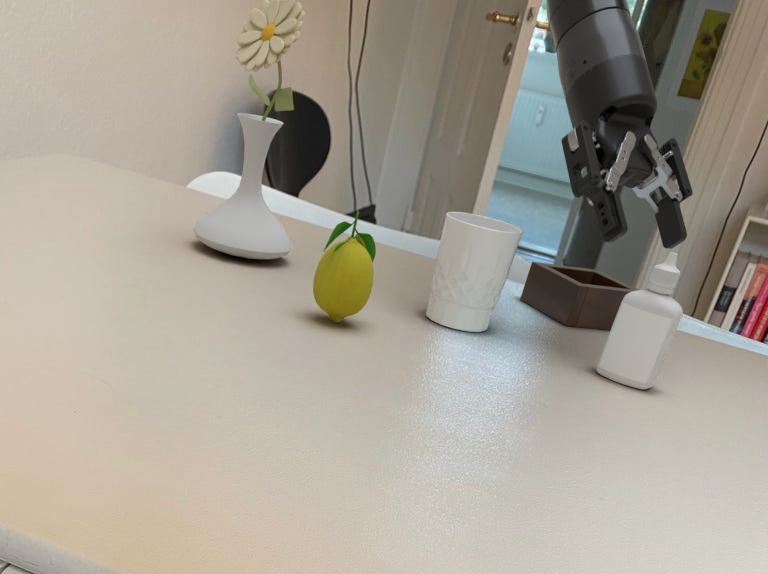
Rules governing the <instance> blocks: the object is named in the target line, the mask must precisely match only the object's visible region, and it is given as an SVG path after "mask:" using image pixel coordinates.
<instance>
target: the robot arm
mask: <svg viewBox="0 0 768 574" xmlns="http://www.w3.org/2000/svg"><path fill="white" fill-rule="evenodd" d="M545 2H546V3H545V5H546V6H545V7H546V18H547V23H548V27H549V31H550V35H551V39H552V43H553V47H554V51H555V54H556V58H557V69H558V76H559V80H560V81H559V82H560V85H561V88H562V92H563V96H564V100H565V105H566V109H567V113H568V116H569V119H570V124H571V128H572V129H571V130H570V131H569V132H568V133H567V134H566V135H565V136H563V137H562V138H561V147H562V151H563V155H564V160H565V165H566V170H567V174H568V178H569V183H570V188H571V192H572V194H573V196H574V197H575V198H578V199H580V198H581V197H582V196H584V197H585V198H586V200H587V203H588V204H589V205H590V206H591V207H593V208H594V212H595V216H596V220H597V224H598V228H599V231H600V233H601V235H602V239H603V241H604V242H605V243H614V242H616V241H617V240H618V239H620V238H622V237H623V236H624V235H626V233H627V232H628V230H629V229H628V228H629V227H628V222H627V218H626V216H625V211H624V208H623V203H622V199H621V196H620V193H619V192H616V190H617V188H618V186H625V187H626V188H630V189H631V190H632V191H633V193H634V194H635V195H636V197H637V198H638V199H645V200H646V201H647V203H648V204H649V206H650V207H651V209H652V210H653V212H655V214H654V217H655V221H656V225H657V228H658V229H657V230H658V232H659V236H660V240H661V244H662V247H663V248H664V249H667V250H671V249H673V248H675V247H677V246H678V245H680V244H682V243H683V242H685V241H686V239H687V237H688V232H687V228H686V225H685V220H684V217H683V214H682V213H683V212H682V209H681V203H682V202H684V201H685V200H686V199H688V198H690V197H691V196H693V194H694V193H693V188H692V185H691V181H690V179H689V175H688V173H687V172H688V171H687V169H686V166H685V162H684V159H683V155H682V152H681V149H680V146H679V143H678V141H677V140H676V139H675V138H674V137H671V138H670V139H668V140H667V141H666V142H664V143H662V142H661V143H660V142H658V141H657V139H656V137H655V135H654V133H653V131H652V129H651V125H652V123H653V119H654V118H655V116H656V113H657V111H658V100H657V96H656V92H655V89H654V85H653V81H652V78H651V74H650V70H649V66H648V63H647V59H646V55H645V51H644V48H643V44H642V40H641V37H640V34H639V32H638V30H637V27H636V25H635V23H634V20H633V18H632V16H631V15H632V14H631V11H630V8H629V4H628V1H627V0H546V1H545ZM583 169H586V173H587V174H586V175H585V176H583V175H582V171H583ZM653 173H654V177H653V178H652V179H651V180H649V181H648V182H644V181H646V180H647V179H648V178H650V177H651V176H652V174H653ZM675 181H676V182H677V184H676V182H675ZM657 188H658V190H659V193H660V196H661V197H660V196H659V195H658V193H657V192H656V191H655V190H656V189H657Z"/></svg>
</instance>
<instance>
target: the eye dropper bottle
mask: <svg viewBox="0 0 768 574" xmlns="http://www.w3.org/2000/svg"><path fill="white" fill-rule="evenodd" d="M678 255H679V253H677V252H673V251H670V252H669V254H668V255H667V257H666V258H665V260H664V261H663V262H662V263H659V264H655V265H654V266H653V269H652V271H651V274H650V276H649V279H648V281H647V284H646V288H645V289H638V290H637V291H632V292H630V293H628V294H626V295H625V297H624V298H623V300H622V302H621V305H620V307H619V310H618V312H617V315H616V318H615V320H614V323H613V325H612V328H611V330H609V334H608V336H607V339H606V341H605V344H604V346H603V348H602V352H601V354H600V357H599V359H598V362H597V365H596V372H597V373H598V374H599V375H600V376H602V377H604V378H606V379H608V380H611V381H613V382H616V383H618V384H620V385H621V384H622V385H624V386H627V387H631V388H635V389H639V390H647V389H650V388H652V387H653V386H654V385H655V383H656V380H657V378H658V375H659V373H660V371H661V369H662V366H663V364H664V362H665V360H666V357H667V355H668V352H669V349H670V347H671V344H672V342H673V340H674V338H675V335H676V333H677V331H678V327H679V325H680V323H681V320H682V317H683V313H684V311H683V307H682V306H681V304H680V303H679V302H678V301H677V300H675V299H674V298H673V297H671V295H673V293H674V291H675V288H676V286H677V283H678V281H679V278H680V275H681V271H680V270H679V269H678V267H677V261H678Z"/></svg>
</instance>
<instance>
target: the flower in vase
mask: <svg viewBox="0 0 768 574" xmlns="http://www.w3.org/2000/svg"><path fill="white" fill-rule="evenodd" d="M302 9H303V6H302V4H301V3H300V2H299V1H297V2H296V0H263V1H262V2H261V3H260V8H257V7H254V8H252V9H251V10H250V11H249V19H250V20H249V19H248V20H246V21H245V22H244V23H243V25H242V30H241V32H240V34H239V35H238V36H237V38H236V43H237V44H238V46H239V47H240V48H238V49H237V51H236V53H235V59H236V60H237V62H238V63H239V64H240V65H241V66H244V70H245V72H251V71H253V72H258V71H260V70H261V69H262V68H264V69H265V70H268V69H269V68H270V67H272V66H273V65H274V64H277V73H278V83H277V88H276V91H275V93H274V95H273V97H272V99H271V101H270V98H269V97H268V95H267V94H266V93H265V92H264V91H263V90H262V89H261V88H260V87H259V86H258V85H257V83H256V81H255V80H254V77H253V76H252V73H250V74H249V76H248V85H249V87H250V88H251V90H252V91H253V92H254V93H255V94H256V96H258V97H259V99H260V100H261V101H262V102H263V103H264V104H265V105H266V106H267V108H266V109H265V112H264V114H263V115H260V114H259V115H258V114H252V113H246V112H238V113H237V114H236V115H237V118H238V120H239V123H240V125H241V129H242V134H243V145H244V148H243V165H242V172H241V178H240V181H239V185H238V187H237V189H236V191H235V192H234V193H233V194H232V195H231V196H230V197H229V198H227V199H226V200H224V201H223V202H221V203H220V204H218V205H216V206H215V207H213V208H212V209H210V210H208V211H207V212H205V214H203V215H202V216H201V217H200V218H199V219H198V220H197V221H196V222H195V224H194V226H193V229H192V231H193V233H194V235H195V237H196V239H198V240H199V241H200V242H201V243H202V244H204V245H206V246H207V247H208V248H211V249H213V250H216V251H218V252H221V253H224V254H227V255H230V256H234V257H238V258H244V259H250V260H275V259H279V258H282V257H286V256H288V254H289V253H290V252H291V251H292V250H293V244H292V240H291V238H290V235H289V234H288V232H287V230H286V229H285V227H284V226H283V225H282V223H281V222H280V221H279V220H278V218H277V217H276V215H275V214H274V213H273V212H272V210H271V209H270V208H269V206H268V205H267V203H266V201H265V198H264V195H263V191H262V190H263V187H262V186H263V185H262V182H263V174H264V169H265V163H266V159H267V155H268V152H269V149H270V147H271V143H272V141H273V139H274V138H275V135H276V134H277V132H278V131H279V130H280V129H281V128H282V127H283V125H284V122H283V121H281V120H278V119H275V118H272V117H268V115H269V113H270V111H271V109H272V108H273V106H274V111H275V112H284V111H294V110H295V106H294V98H293V88H292V86H288V87H284V88H282V84H283V71H282V69H283V68H282V62H281V61H282V58H283V55H286V54H288V52H289V51H290V49H291V45H293V43H295V42H297V41H298V40H299V38H300V36H301V32H300V30H301V29H302V27H303V25H304V22H303V20H304V18H305V16H306V11H305V10H302ZM281 88H282V89H281Z"/></svg>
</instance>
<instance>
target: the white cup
mask: <svg viewBox="0 0 768 574" xmlns="http://www.w3.org/2000/svg"><path fill="white" fill-rule="evenodd" d="M523 233H524V231H523V229H522V228H520V227H518V226H517V225H514V224H511V223H509V222H506V221H503V220H500V219H496V218H493V217H489V216H484V215H479V214H475V213H470V212H464V211H463V212H462V211H448V212H446V213H445V218H444V221H443V226H442V231H441V235H440V236H441V237H440V239H439V244H438V249H437V255H436V258H435V264H434V268H433V272H432V280H431V283H430V290H431V291H430V292H429V298H428V303H427V307H426V313H425V316H426V317H427V318H428V319H429V320H430V321H432V322H434V323H436V324H438V325H441V326H444V327H446V328H450V329H454V330H458V331H465V332H472V333H481V332H484V331H487V330H488V328H489V325H490V322H491V319H492V316H493V313H494V311H495V307H496V305H497V304H498V302H499V300H500V297H501V294H502V293H503V289H504V286H505V283H506V281H507V279H508V276H509V273H510V270H511V267H512V264H513V261H514V258H515V256H516V253H517V251H518V247H519V244H520V241H521V239H522V236H523Z"/></svg>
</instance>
